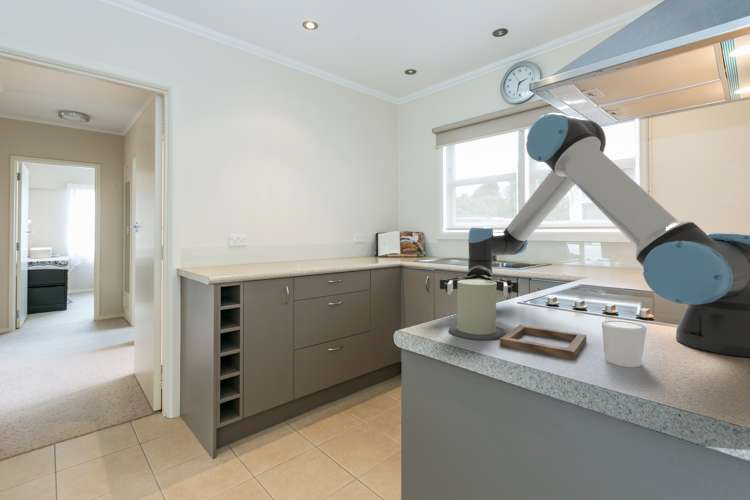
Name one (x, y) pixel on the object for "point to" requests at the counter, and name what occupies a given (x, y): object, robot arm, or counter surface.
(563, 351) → the pocket
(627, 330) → the shot glass
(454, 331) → the mat
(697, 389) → the counter surface
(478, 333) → the can
